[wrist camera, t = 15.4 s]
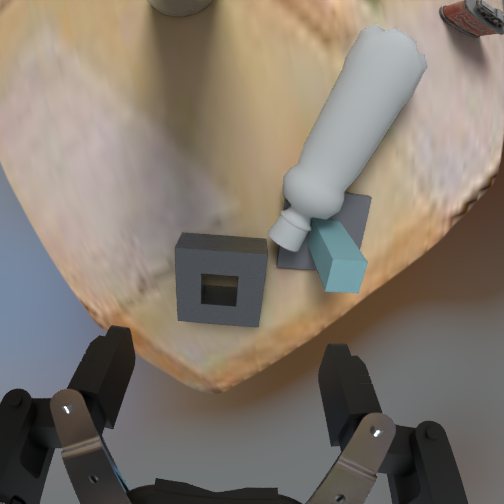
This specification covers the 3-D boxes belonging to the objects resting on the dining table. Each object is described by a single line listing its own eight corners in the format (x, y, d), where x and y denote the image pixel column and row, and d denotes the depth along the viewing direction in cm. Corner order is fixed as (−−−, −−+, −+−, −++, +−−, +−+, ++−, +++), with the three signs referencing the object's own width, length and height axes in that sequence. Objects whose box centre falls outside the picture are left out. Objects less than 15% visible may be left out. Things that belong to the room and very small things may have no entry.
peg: (312, 218, 43) (333, 259, 32) (339, 221, 43) (367, 262, 32) (307, 244, 45) (325, 291, 34) (334, 247, 45) (358, 293, 34)
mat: (287, 185, 42) (287, 187, 41) (369, 196, 42) (371, 197, 41) (276, 264, 47) (277, 267, 46) (352, 269, 47) (353, 272, 47)
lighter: (478, 25, 29) (518, 19, 20) (477, 42, 30) (518, 38, 21) (439, 2, 28) (477, -12, 19) (438, 19, 29) (477, 7, 20)
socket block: (182, 232, 45) (174, 247, 40) (266, 238, 45) (267, 254, 41) (183, 301, 50) (177, 320, 45) (257, 307, 50) (258, 327, 46)
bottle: (352, 14, 28) (239, 215, 40) (413, 25, 22) (278, 259, 34) (387, 53, 34) (287, 226, 46) (441, 71, 28) (326, 265, 40)
